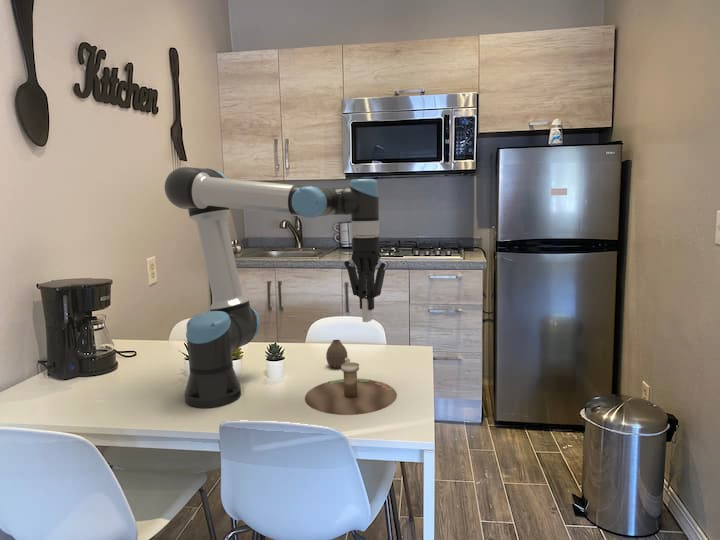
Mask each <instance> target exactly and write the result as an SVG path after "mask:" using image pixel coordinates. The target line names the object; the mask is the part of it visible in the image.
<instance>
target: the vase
mask: <svg viewBox="0 0 720 540" xmlns="http://www.w3.org/2000/svg"><path fill="white" fill-rule="evenodd" d="M345 358H348V351H347V348H346V347H345V346H344V345H343V343H342V342H341V339H332V342H331V344H330V345H329V346H328V348H327V351H326V362H327V364H328V366H329V367H331V368H333V369H341V365H342V364H343V363H345Z"/></svg>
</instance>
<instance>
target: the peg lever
mask: <svg viewBox="0 0 720 540" xmlns="http://www.w3.org/2000/svg"><path fill="white" fill-rule="evenodd" d="M340 369H341V372H343V379H344V395H345V396H347V397H353V396H356V395H357V379H358V371H359V370H360V365H359V363H357V362H353V361H351V360H350V357H347V358H345V363H343V364H342V365H341V368H340Z"/></svg>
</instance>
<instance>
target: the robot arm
mask: <svg viewBox="0 0 720 540" xmlns="http://www.w3.org/2000/svg"><path fill="white" fill-rule="evenodd" d="M349 184H350V185H349V186H343V187H337V186H336V187H335V186H334V187H324V186H323V187H321V186H311V185H299V184H298V185H296V184H286V183H277V182H269V181H268V182H267V181H255V180H247V179H246V180H245V179H235V178H234V179H233V178H228V177H227V176H226V175H225V174H224V173H222V172H220V171H219V170H216V169H213V168H207V167H206V168H201V167H199V168H198V167H189V166H188V167H187V166H184V167H178V168H176V169H174V170H172V171H171V172H170V173H169V174H168V176H167V177H166V179H165V182H164V193H165V196H166V197H167V199H168V201H169V202H170V203H171V204H172V205H174V206H175V207H177V208H179V209H184V210H187V211H188V215H189V219H191V220H193V221H194V222H195V223H196V226H197V231H198V235H199V239H200V240H199V241H200V244H201V249H202V254H203V258H204V262H205V263H204V264H205V267H206V272H207V273H206V274H207V277H208V281H209V286H210V291H211V294H212V299H213V302H212V304H211V306H210V307H209V310H210V311H206V312H204V313H202V312H201V313H198V314H196V315H194V316H192V317H191V318H190V319H189V320H187V323H186V332H185V337H186V342H187V352H188V353H187V354H188V365H189V367H188V368H189V375H188V380H187V382H186V383H187V384H186V388H185V391H184V401H185V403H186V405H187V406H190V407H194V408H202V409H203V408H215V407H221V406H224V405H228V404H230V403H233V402H235V401H236V400H238V399H239V398H240V397H241V396H242V389H241V387H242V386H241V384H240V381H239V379H238V377H237V374H236V372H235V370H234V362H233V360H234V359H233V352H235V351H236V350H238V349H239V348H241V347H243V346H246V345H247V344H249V343H250V342H251V341H252V340H254V338H255V337H257V335H258V333H259V330H260V327H261V321H260V317H259V314H258V312H257V311H256V310H255V309H254V308H253V307H252V306H251V305H250V300H249V299H248V298H247V297H246V296H244V295H243V292H242V287H241V286H242V285H241V283H240V278H239V273H238V268H237V264H236V259H235V255H234V248H233V245H232V240H231V235H230V230H229V226H228V220H227V216H228V215H229V213H230V211H231V210H230V209H238V210H246V211H257V212H264V213H265V212H266V213H276V214H285V215H293V216H300V217H303V218H305V219H314V218H316V217H317V218H318V217H325V216H338V215H339V216H344V215H345V216H346V215H347V216H349V215H350V216H351V222H350V225H351V236H353V237H352V238H351V250H352V254H351V258H350V259H348V260H346V261H344V266H345V268H346V269H347V273H348V277H349V281H350V286H351V290H352V294H353V296H356V297H358V299H359V309H360V310H361V311H362V315H361V316H362V317H361V318H362V320H361V321H362V323H368V322H372V321H373V312H372V311H373V310H374V309H375V298H376V297H379V296H381V293H382V289H383V283H384V278H385V274H386V270H387V269H388V267H389V262H388V261H384V260H383V259H382V258H381V255H380V238H379V235H380V216H379V214H380V212H379V209H380V208H379V206H380V205H379V204H380V203H379V202H380V195H379V184H378V181H377V180H376V179H374V178H357V179H355V178H354V179H351V180H350V183H349ZM376 267H377V270H376ZM376 271H377V272H376ZM375 274H376V276H375Z"/></svg>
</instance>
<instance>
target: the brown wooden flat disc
mask: <svg viewBox="0 0 720 540" xmlns="http://www.w3.org/2000/svg"><path fill="white" fill-rule="evenodd" d="M397 394H398V393H397V391H396V390H395V388H394V387H392V386H391V385H389V384H388V383H385V382H383V381H378V380H372V379H370V378H369V379H368V378H357V395H356V396H353V397H347V396H345V395H344V378H343V379H342V378H341V379H335V380H330V381H327V382H324V383H321V384H318V385H316V386H314V387H313V388H312V387H311V389H310V390H308V391H307V392H306V394H305V396H304V401H305V403H306V405H308V407H310V408H311V409H313V410H316V411H317V412H320V413H325V414H329V415H339V416H354V415H357V416H358V415H364V414H370V413H374V412H379V411H381V410H383V409H386V408H387V407H389V406H392V404H393V403H394V402H395V401H396V399H397V397H398V395H397Z"/></svg>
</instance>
